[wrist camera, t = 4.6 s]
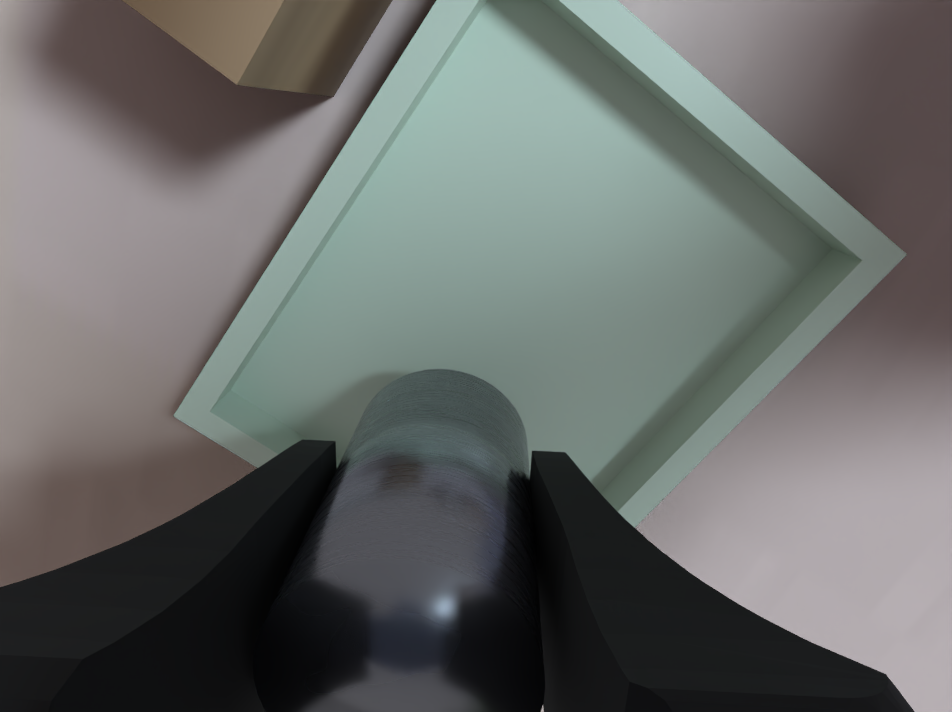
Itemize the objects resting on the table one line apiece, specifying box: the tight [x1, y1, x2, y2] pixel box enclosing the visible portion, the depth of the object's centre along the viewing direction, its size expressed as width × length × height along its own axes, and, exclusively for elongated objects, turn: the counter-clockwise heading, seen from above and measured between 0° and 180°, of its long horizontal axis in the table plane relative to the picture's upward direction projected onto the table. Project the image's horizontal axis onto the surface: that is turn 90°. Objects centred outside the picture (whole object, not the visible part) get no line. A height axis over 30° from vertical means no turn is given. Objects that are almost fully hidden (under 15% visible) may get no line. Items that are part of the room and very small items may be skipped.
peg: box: [253, 369, 545, 712], centre depth 11 cm, size 4×4×6 cm
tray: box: [173, 0, 907, 528], centre depth 14 cm, size 10×12×2 cm
